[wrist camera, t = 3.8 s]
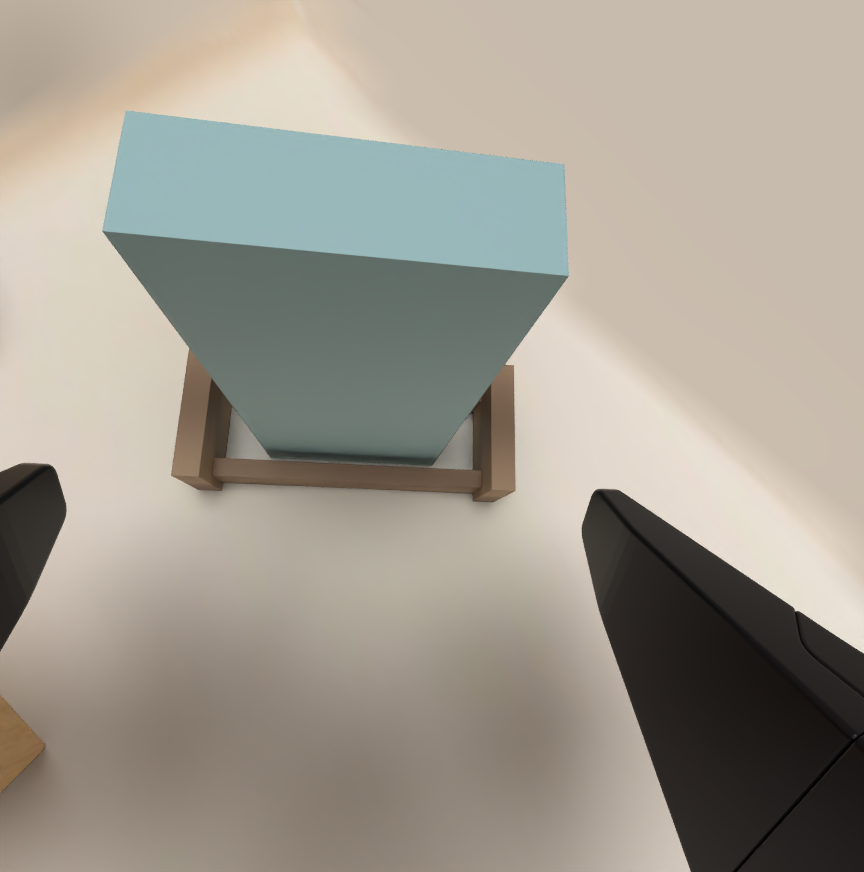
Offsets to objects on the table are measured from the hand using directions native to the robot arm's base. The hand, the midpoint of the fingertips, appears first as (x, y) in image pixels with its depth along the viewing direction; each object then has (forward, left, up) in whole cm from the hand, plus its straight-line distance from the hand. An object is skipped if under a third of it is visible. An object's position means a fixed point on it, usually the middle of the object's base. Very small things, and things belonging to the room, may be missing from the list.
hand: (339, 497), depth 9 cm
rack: (+2, +3, -11) cm, 12 cm away
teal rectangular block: (+2, +3, -11) cm, 12 cm away
